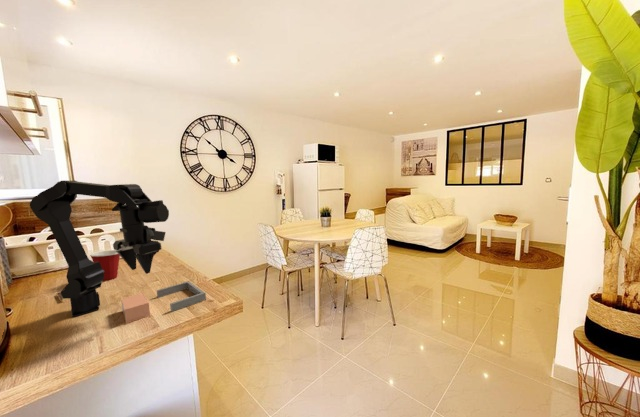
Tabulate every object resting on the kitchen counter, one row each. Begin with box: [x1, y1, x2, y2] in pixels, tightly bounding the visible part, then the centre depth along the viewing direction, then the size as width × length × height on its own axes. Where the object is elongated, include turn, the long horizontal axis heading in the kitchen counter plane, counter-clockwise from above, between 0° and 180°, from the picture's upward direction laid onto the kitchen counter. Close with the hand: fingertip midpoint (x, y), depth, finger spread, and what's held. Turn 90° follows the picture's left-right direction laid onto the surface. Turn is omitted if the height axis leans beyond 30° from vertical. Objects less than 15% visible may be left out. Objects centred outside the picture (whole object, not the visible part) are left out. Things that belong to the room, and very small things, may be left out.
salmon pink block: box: [120, 292, 151, 324], centre depth 82 cm, size 6×10×4 cm, turn 43°
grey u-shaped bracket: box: [156, 280, 207, 313], centre depth 92 cm, size 11×16×2 cm
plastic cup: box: [89, 249, 121, 282], centre depth 111 cm, size 11×11×12 cm
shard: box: [56, 291, 70, 303], centre depth 95 cm, size 11×8×2 cm
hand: (140, 271), depth 82 cm, fingers open, 9 cm apart
